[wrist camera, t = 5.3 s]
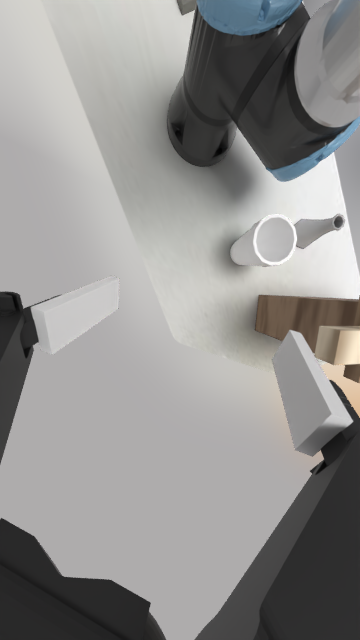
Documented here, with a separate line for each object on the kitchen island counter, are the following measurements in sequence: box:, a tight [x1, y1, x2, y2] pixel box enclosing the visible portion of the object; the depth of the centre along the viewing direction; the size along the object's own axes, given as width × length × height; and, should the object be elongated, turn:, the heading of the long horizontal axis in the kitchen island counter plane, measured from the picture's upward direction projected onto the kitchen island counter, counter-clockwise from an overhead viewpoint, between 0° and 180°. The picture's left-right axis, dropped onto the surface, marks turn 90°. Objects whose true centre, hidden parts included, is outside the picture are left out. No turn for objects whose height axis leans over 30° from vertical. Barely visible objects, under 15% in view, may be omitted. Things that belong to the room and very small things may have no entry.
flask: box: [294, 214, 345, 249], centre depth 45 cm, size 7×7×10 cm
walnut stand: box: [255, 295, 360, 383], centre depth 41 cm, size 28×12×28 cm, turn 88°
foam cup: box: [230, 214, 297, 267], centre depth 42 cm, size 10×9×13 cm
